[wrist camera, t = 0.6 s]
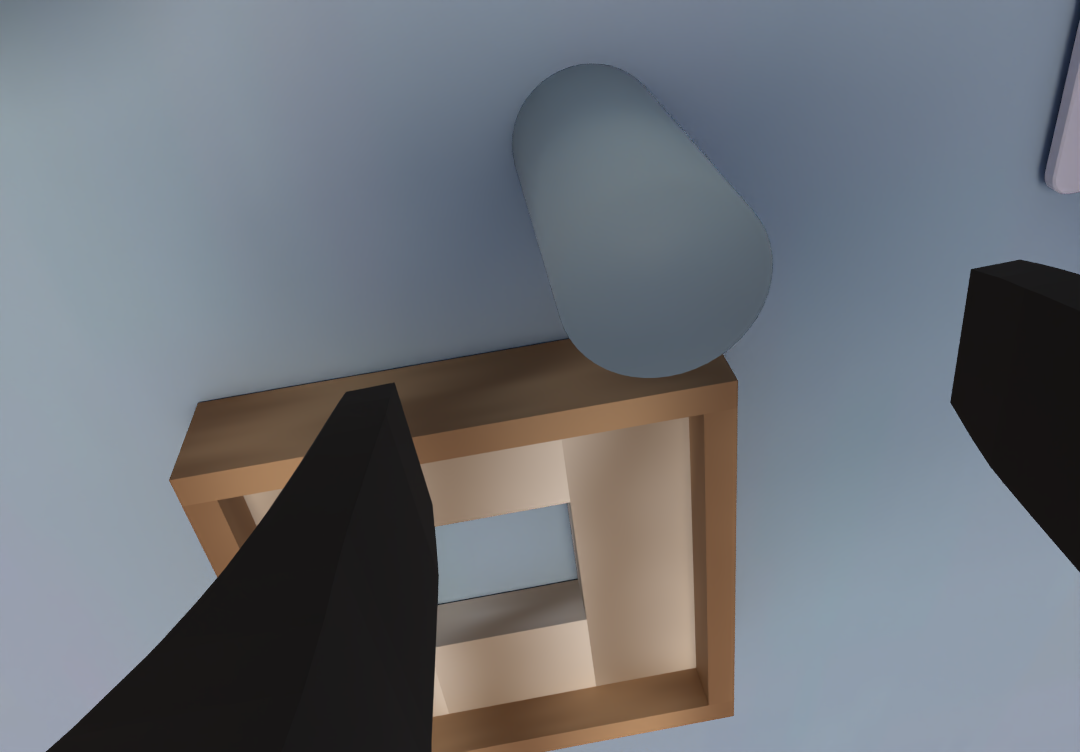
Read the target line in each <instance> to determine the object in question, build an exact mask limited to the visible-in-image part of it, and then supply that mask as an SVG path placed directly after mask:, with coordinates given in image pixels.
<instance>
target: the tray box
mask: <svg viewBox="0 0 1080 752" xmlns="http://www.w3.org/2000/svg"><path fill="white" fill-rule="evenodd" d="M393 382H395V385H396V388H397V391H398V395H399V398H400V401H401V404H402V407H403V411H404V414H405V417H406V420H407V424H408V427H409V430H410V433H411V436H412V440H413V443H414V446H415V449H416V453H417V456H418V459H419V462H420V465H421V469H422V472H423V475H424V478H425V482H426V485H427V488H428V491H429V494H430V498H431V501H432V504H433V514H434V525H435V527H436V526H441V525H447V524H453V523H458V522H464V521H469V520H475V519H480V518H486V517H492V516H497V515H503V514H508V513H514V512H519V511H525V510H530V509H536V508H542V507H547V506H553V505H558V504H564V503H567V505H568V512H569V519H570V526H571V533H572V540H573V547H574V554H575V561H576V568H577V575H578V580H573V581H567V582H562V583H556V584H551V585H545V586H540V587H534V588H529V589H524V590H518V591H513V592H507V593H502V594H496V595H491V596H485V597H480V598H474V599H469V600H463V601H458V602H452V603H447V604H441V605H438V607H437V632H436V655H435V678H434V700H433V723H432V752H546V751H551V750H556V749H562V748H567V747H572V746H577V745H583V744H588V743H593V742H599V741H604V740H609V739H614V738H620V737H625V736H630V735H635V734H641V733H646V732H651V731H657V730H662V729H667V728H672V727H678V726H683V725H688V724H693V723H699V722H704V721H709V720H715V719H720V718H725V717H730V716H734V652H735V570H736V488H737V406H738V380H737V378H736V376H735V375H734V373H733V371H732V369H731V368H730V366H729V364H728V363H727V361H726V359H725V357H724V356H723V354H722V355H720V356H719V357H717V358H715V359H714V360H712V361H710V362H709V363H707V364H705V365H703V366H700V367H698V368H696V369H693V370H691V371H688V372H685V373H682V374H677V375H673V376H668V377H659V378H638V377H630V376H625V375H621V374H617V373H615V372H612V371H609V370H606V369H604V368H603V367H601V366H599V365H597V364H595V363H594V362H592V361H591V360H590V359H588V358H587V357H585V356H584V355H583V354H582V353H581V352H580V351H579V350H578V349H577V348H576V346H575V345H574V344H573V343H572V341H571V340H570V339H565V340H560V341H554V342H548V343H542V344H537V345H531V346H525V347H519V348H513V349H508V350H502V351H496V352H490V353H484V354H479V355H473V356H467V357H461V358H455V359H450V360H444V361H438V362H432V363H427V364H421V365H415V366H409V367H403V368H398V369H392V370H386V371H380V372H374V373H369V374H363V375H357V376H351V377H345V378H340V379H334V380H328V381H322V382H317V383H311V384H305V385H299V386H293V387H288V388H282V389H276V390H270V391H264V392H259V393H253V394H247V395H241V396H236V397H230V398H224V399H218V400H212V401H207V402H201V403H198V404H197V407H196V410H195V412H194V415H193V418H192V420H191V423H190V426H189V428H188V431H187V434H186V437H185V439H184V442H183V445H182V447H181V450H180V453H179V455H178V458H177V461H176V463H175V466H174V469H173V471H172V474H171V477H170V479H169V481H170V483H171V485H172V487H173V489H174V491H175V493H176V495H177V497H178V499H179V501H180V503H181V505H182V507H183V509H184V511H185V513H186V515H187V517H188V519H189V521H190V523H191V525H192V527H193V529H194V531H195V533H196V535H197V537H198V539H199V541H200V543H201V545H202V547H203V549H204V551H205V553H206V555H207V557H208V559H209V561H210V563H211V565H212V567H213V569H214V571H215V573H216V575H217V577H218V576H219V575H220V574H221V573H222V571H223V570H224V569H225V568H226V566H227V565H228V564H229V562H230V561H231V560H232V559H233V557H234V556H235V555H236V553H237V552H238V551H239V549H240V548H241V547H242V545H243V544H244V543H245V541H246V540H247V539H248V537H249V536H250V535H251V533H252V532H253V531H254V529H255V528H256V527H257V525H258V524H259V523H260V521H261V520H262V519H263V517H264V516H265V514H266V513H267V511H268V510H269V509H270V507H271V506H272V504H273V503H274V501H275V500H276V498H277V497H278V495H279V494H280V492H281V491H282V489H283V488H284V486H285V485H286V483H287V482H288V480H289V479H290V477H291V476H292V474H293V473H294V471H295V470H296V469H297V467H298V465H299V464H300V462H301V461H302V459H303V458H304V456H305V454H306V453H307V451H308V450H309V448H310V447H311V445H312V443H313V442H314V440H315V439H316V437H317V435H318V434H319V432H320V431H321V429H322V427H323V426H324V424H325V423H326V421H327V419H328V418H329V416H330V415H331V413H332V412H333V410H334V408H335V407H336V405H337V404H338V402H339V401H340V399H341V398H342V397H343V395H344V394H345V392H348V391H353V390H358V389H363V388H368V387H373V386H378V385H383V384H388V383H393Z"/></svg>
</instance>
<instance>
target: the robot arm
mask: <svg viewBox="0 0 1080 752" xmlns="http://www.w3.org/2000/svg"><path fill="white" fill-rule="evenodd" d="M1045 182H1046V184H1047V186H1048V187H1050V188H1052V189H1053V190H1055V191H1057V192H1059V193H1060V194H1071V193H1077V192H1080V21H1079V25H1078V30H1077V34H1076V39H1075V43H1074V47H1073V52H1072V56H1071V61H1070V65H1069V70H1068V74H1067V78H1066V83H1065V87H1064V92H1063V96H1062V100H1061V105H1060V109H1059V114H1058V118H1057V122H1056V127H1055V131H1054V136H1053V140H1052V145H1051V149H1050V153H1049V158H1048V162H1047V167H1046V171H1045ZM950 403H951V404H952V406H953V408H954V409H955V411H956V413H957V414H958V416H959V418H960V419H961V421H962V423H963V424H964V426H965V428H966V430H967V431H968V433H969V435H970V436H971V438H972V439H973V441H974V443H975V444H976V446H977V447H978V449H979V450H980V452H981V453H982V455H983V456H984V458H985V459H986V461H987V462H988V464H989V466H990V467H991V468H992V469H993V471H994V472H995V473H996V474H997V475H998V477H999V478H1000V479H1001V480H1002V482H1003V483H1004V484H1005V485H1006V486H1007V488H1008V489H1009V490H1010V491H1011V492H1012V494H1013V495H1014V496H1015V497H1016V498H1017V499H1018V501H1019V502H1020V503H1021V504H1022V505H1023V507H1024V508H1025V509H1026V510H1027V511H1028V513H1029V514H1030V515H1031V516H1032V517H1033V518H1034V520H1035V521H1036V522H1037V523H1038V524H1039V525H1040V527H1041V528H1042V529H1043V530H1044V531H1045V532H1046V534H1047V535H1048V536H1049V537H1050V538H1051V539H1052V540H1053V542H1054V543H1055V544H1056V545H1057V546H1058V547H1059V549H1060V550H1061V551H1062V552H1063V553H1064V554H1065V556H1066V557H1067V558H1068V559H1069V560H1070V561H1071V563H1072V564H1073V565H1074V566H1075V567H1076V568H1077V570H1078V571H1079V572H1080V275H1079V274H1076V273H1072V272H1069V271H1065V270H1062V269H1058V268H1054V267H1050V266H1046V265H1042V264H1038V263H1033V262H1028V261H1024V260H1016V261H1011V262H1006V263H1001V264H995V265H990V266H985V267H980V268H975V269H971V273H970V279H969V286H968V292H967V299H966V305H965V312H964V318H963V325H962V331H961V337H960V344H959V350H958V357H957V363H956V370H955V376H954V382H953V389H952V395H951V402H950ZM438 578H439V575H438V561H437V548H436V536H435V525H434V514H433V504H432V501H431V498H430V494H429V491H428V488H427V485H426V482H425V478H424V475H423V472H422V469H421V465H420V462H419V459H418V456H417V453H416V449H415V446H414V443H413V440H412V436H411V433H410V430H409V427H408V424H407V420H406V417H405V414H404V411H403V407H402V404H401V401H400V398H399V395H398V391H397V388H396V385H395V382H393V383H388V384H383V385H378V386H373V387H368V388H363V389H358V390H353V391H348V392H345V394H344V395H343V397H342V398H341V399H340V401H339V402H338V404H337V405H336V407H335V408H334V410H333V412H332V413H331V415H330V416H329V418H328V419H327V421H326V423H325V424H324V426H323V427H322V429H321V431H320V432H319V434H318V435H317V437H316V439H315V440H314V442H313V443H312V445H311V447H310V448H309V450H308V451H307V453H306V454H305V456H304V458H303V459H302V461H301V462H300V464H299V465H298V467H297V469H296V470H295V471H294V473H293V474H292V476H291V477H290V479H289V480H288V482H287V483H286V485H285V486H284V488H283V489H282V491H281V492H280V494H279V495H278V497H277V498H276V500H275V501H274V503H273V504H272V506H271V507H270V509H269V510H268V511H267V513H266V514H265V516H264V517H263V519H262V520H261V521H260V523H259V524H258V525H257V527H256V528H255V529H254V531H253V532H252V533H251V535H250V536H249V537H248V539H247V540H246V541H245V543H244V544H243V545H242V547H241V548H240V549H239V551H238V552H237V553H236V555H235V556H234V557H233V559H232V560H231V561H230V562H229V564H228V565H227V566H226V568H225V569H224V570H223V571H222V573H221V574H220V575H219V576H218V578H217V579H216V580H215V581H214V582H213V584H212V585H211V586H210V587H209V588H208V589H207V591H206V592H205V593H204V594H203V595H202V597H201V598H200V599H199V600H198V601H197V602H196V604H195V605H194V606H193V607H192V608H191V609H190V610H189V611H188V612H187V613H186V615H185V616H184V617H183V618H182V619H181V620H180V621H179V622H178V623H177V624H176V626H175V627H174V628H173V629H172V630H171V631H170V632H169V633H168V634H167V635H166V637H165V638H164V639H163V640H162V641H161V642H160V643H159V644H158V645H157V646H156V647H155V648H154V649H153V650H152V651H151V652H150V653H149V654H148V656H146V657H145V658H144V659H143V660H142V661H141V662H140V663H139V664H138V665H137V666H136V667H135V668H134V669H133V670H132V671H131V672H130V673H129V674H128V675H127V676H126V677H125V678H124V679H123V680H122V681H121V682H120V683H119V684H118V685H117V686H115V687H114V688H113V689H112V690H111V691H110V692H109V693H108V694H107V695H106V696H105V697H104V698H103V699H102V700H101V701H100V702H99V703H98V704H97V705H96V706H95V707H94V708H93V709H92V710H91V711H90V712H89V713H88V714H87V715H86V716H84V717H83V718H82V719H81V720H80V721H79V722H78V723H77V724H76V725H75V726H74V727H73V728H72V729H71V730H70V731H69V732H68V733H66V734H65V735H64V736H63V737H62V738H61V739H60V740H59V741H57V742H56V743H55V744H54V745H53V746H52V747H51V748H49V749H48V750H47V751H46V752H432V723H433V700H434V678H435V655H436V632H437V607H438Z"/></svg>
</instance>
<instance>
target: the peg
mask: <svg viewBox="0 0 1080 752" xmlns="http://www.w3.org/2000/svg"><path fill="white" fill-rule="evenodd" d="M512 150H513V158H514V163H515V166H516V170H517V173H518V177H519V180H520V183H521V187H522V190H523V194H524V197H525V201H526V204H527V207H528V211H529V214H530V218H531V221H532V224H533V228H534V231H535V235H536V238H537V241H538V245H539V248H540V252H541V255H542V258H543V262H544V265H545V269H546V272H547V275H548V279H549V282H550V286H551V289H552V293H553V296H554V299H555V303H556V306H557V310H558V313H559V316H560V319H561V322H562V325H563V327H564V330H565V331H566V333H567V335H568V337H569V338H570V340H571V341H572V343H573V344H574V345H575V346H576V348H577V349H578V350H579V351H580V352H581V353H582V354H583V355H584V356H585V357H587V358H588V359H590V360H591V361H592V362H594V363H595V364H597V365H599V366H601V367H603V368H604V369H606V370H609V371H612V372H615V373H617V374H621V375H625V376H630V377H638V378H659V377H668V376H673V375H677V374H682V373H685V372H688V371H691V370H693V369H696V368H698V367H700V366H703V365H705V364H707V363H709V362H710V361H712V360H714V359H715V358H717V357H719V356H720V355H722V354H723V353H724V352H726V351H727V350H728V349H730V348H731V347H732V346H733V345H734V344H735V343H736V342H737V341H738V340H740V339H741V337H742V336H743V335H744V334H745V333H746V332H747V331H748V329H749V328H750V327H751V325H752V324H753V323H754V321H755V320H756V318H757V317H758V315H759V313H760V311H761V309H762V307H763V305H764V303H765V300H766V298H767V295H768V292H769V288H770V284H771V279H772V269H773V263H772V251H771V246H770V242H769V239H768V236H767V233H766V230H765V229H764V227H763V225H762V223H761V221H760V220H759V218H758V217H757V216H756V214H755V213H754V212H753V210H752V209H751V208H750V207H749V206H748V205H747V203H746V202H745V201H744V200H743V199H742V198H741V197H740V195H739V194H738V193H737V192H736V191H735V190H734V189H733V187H732V186H731V185H730V184H729V183H728V182H727V181H726V179H725V178H724V177H723V176H722V175H721V174H720V172H719V171H718V170H717V169H716V168H715V167H714V166H713V164H712V163H711V162H710V161H709V160H708V159H707V158H706V156H705V155H704V154H703V153H702V152H701V151H700V150H699V148H698V147H697V146H696V145H695V144H694V143H693V142H692V140H691V139H690V138H689V137H688V136H687V135H686V133H685V132H684V131H683V130H682V129H681V128H680V127H679V125H678V124H677V123H676V122H675V121H674V120H673V119H672V117H671V116H670V115H669V114H668V113H667V112H666V111H665V109H664V108H663V107H662V106H661V105H660V104H659V102H658V101H657V100H656V99H655V98H654V97H653V96H652V94H651V93H650V92H649V91H648V90H647V89H646V88H645V86H644V85H643V84H641V83H640V82H639V81H638V80H637V79H636V78H634V77H633V76H632V75H630V74H629V73H627V72H625V71H623V70H621V69H618V68H615V67H612V66H608V65H603V64H582V65H577V66H572V67H569V68H566V69H564V70H561V71H559V72H557V73H555V74H553V75H551V76H550V77H549V78H547V79H546V80H544V81H543V82H542V83H541V84H540V85H539V86H537V87H536V88H535V89H534V90H533V92H532V93H531V94H530V95H529V96H528V98H527V99H526V101H525V102H524V104H523V106H522V107H521V110H520V112H519V114H518V116H517V119H516V122H515V125H514V131H513V138H512Z"/></svg>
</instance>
